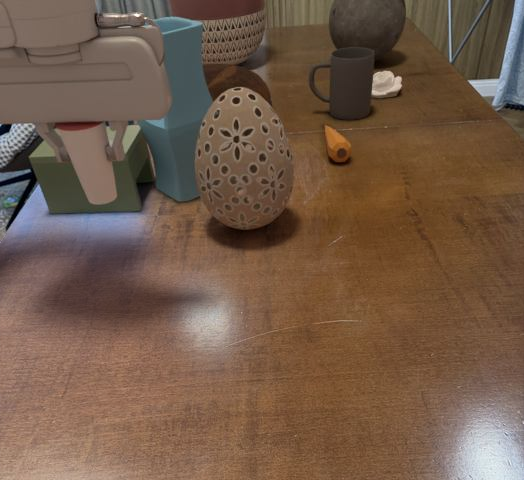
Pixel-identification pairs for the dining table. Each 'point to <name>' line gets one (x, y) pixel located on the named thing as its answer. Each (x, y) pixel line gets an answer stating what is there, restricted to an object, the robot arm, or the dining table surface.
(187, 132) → the vase
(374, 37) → the decorative sphere
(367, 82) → the mug
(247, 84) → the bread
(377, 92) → the rose
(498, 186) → the dining table surface
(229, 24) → the planter
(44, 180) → the sage green box
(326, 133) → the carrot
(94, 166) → the cup
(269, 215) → the ornament
